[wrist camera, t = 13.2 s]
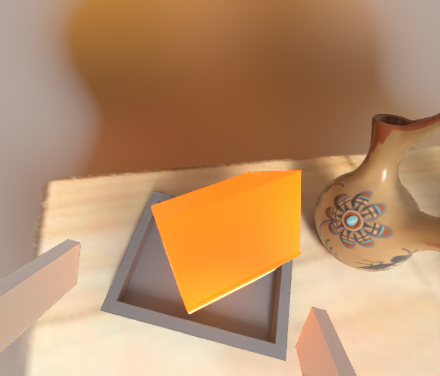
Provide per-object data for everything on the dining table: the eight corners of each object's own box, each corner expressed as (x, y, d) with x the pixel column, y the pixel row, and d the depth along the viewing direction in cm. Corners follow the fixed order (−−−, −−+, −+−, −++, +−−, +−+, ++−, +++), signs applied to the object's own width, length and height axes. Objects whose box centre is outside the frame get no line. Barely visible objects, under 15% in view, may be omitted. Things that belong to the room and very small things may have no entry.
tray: (286, 233, 34) (294, 226, 31) (276, 356, 26) (285, 360, 23) (156, 200, 34) (153, 190, 31) (109, 311, 27) (100, 310, 24)
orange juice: (255, 282, 29) (348, 228, 12) (189, 315, 26) (182, 311, 9) (228, 227, 32) (269, 122, 15) (167, 253, 29) (131, 161, 12)
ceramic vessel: (285, 193, 37) (414, 19, 15) (333, 185, 39) (509, 18, 17) (332, 303, 29) (715, 263, 8) (389, 286, 31) (827, 216, 10)
